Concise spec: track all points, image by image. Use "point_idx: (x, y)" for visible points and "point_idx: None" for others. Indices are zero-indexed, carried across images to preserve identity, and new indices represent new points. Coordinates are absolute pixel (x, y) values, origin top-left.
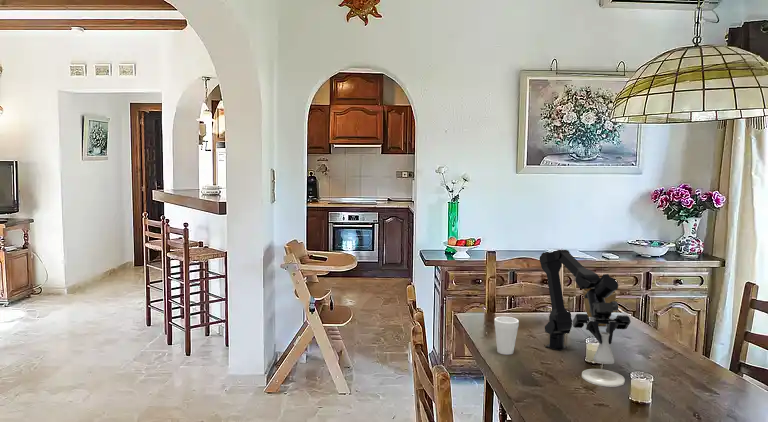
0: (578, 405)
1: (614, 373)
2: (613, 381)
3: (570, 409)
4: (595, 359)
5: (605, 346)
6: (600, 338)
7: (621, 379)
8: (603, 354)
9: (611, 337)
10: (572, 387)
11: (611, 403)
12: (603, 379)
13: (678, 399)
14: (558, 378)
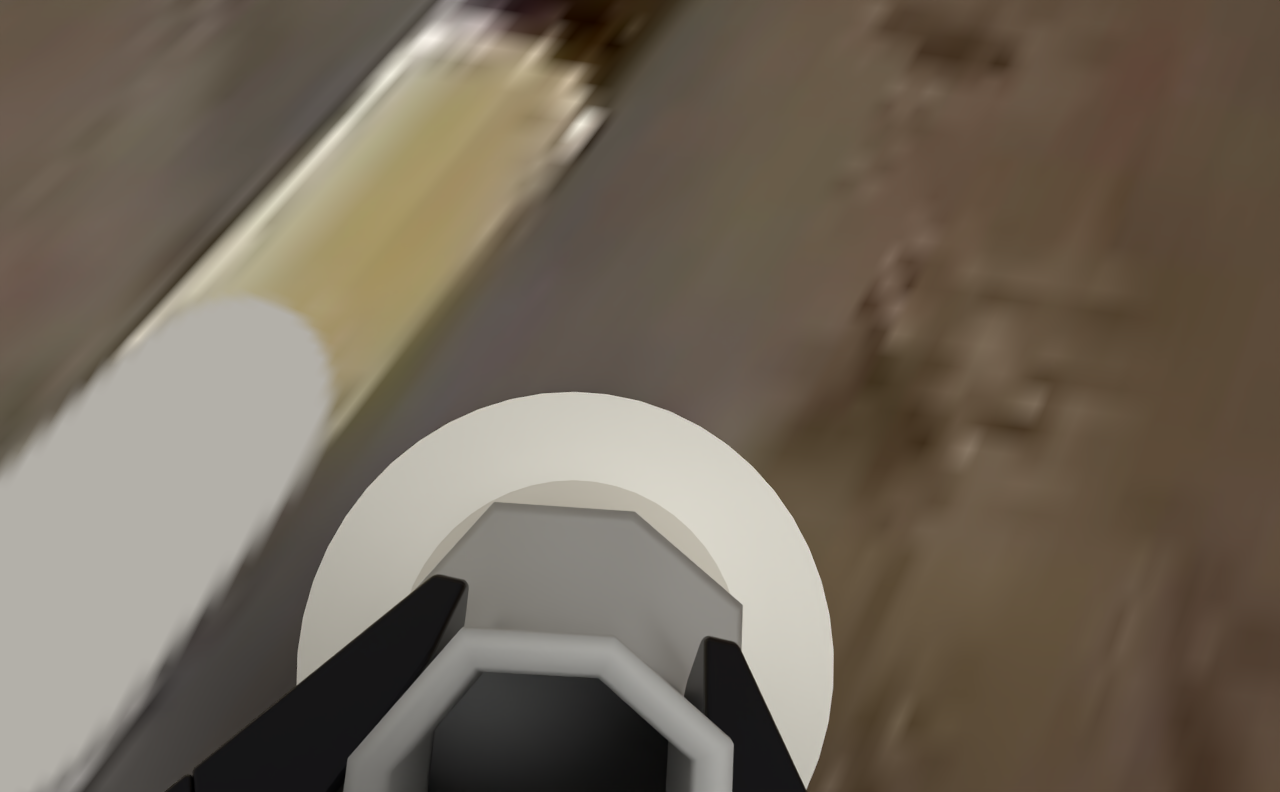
0: (1161, 61)
1: None
2: (539, 465)
3: (1259, 6)
4: None
5: (599, 608)
6: (741, 729)
7: (395, 511)
8: (648, 577)
9: (347, 670)
10: (1060, 449)
11: (837, 50)
12: None
13: (102, 23)
14: (1127, 735)
